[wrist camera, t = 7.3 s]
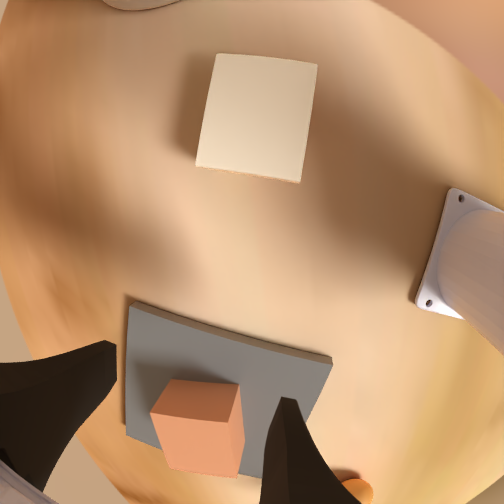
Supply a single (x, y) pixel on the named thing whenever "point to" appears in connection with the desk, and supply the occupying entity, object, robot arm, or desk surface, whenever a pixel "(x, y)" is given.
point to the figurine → (359, 490)
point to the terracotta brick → (200, 427)
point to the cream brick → (257, 116)
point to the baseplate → (215, 374)
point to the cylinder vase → (138, 4)
